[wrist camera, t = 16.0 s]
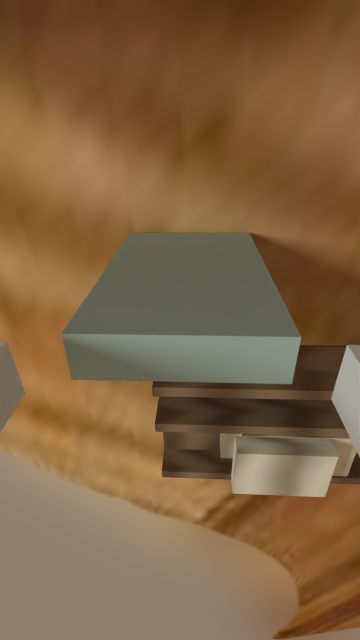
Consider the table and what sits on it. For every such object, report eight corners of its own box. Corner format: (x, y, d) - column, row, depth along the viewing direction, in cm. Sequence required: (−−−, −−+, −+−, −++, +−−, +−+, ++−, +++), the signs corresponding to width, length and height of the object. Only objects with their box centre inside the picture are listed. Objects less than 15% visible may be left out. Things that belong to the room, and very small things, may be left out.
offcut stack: (219, 443, 38) (222, 493, 33) (222, 404, 35) (226, 452, 30) (334, 447, 37) (355, 498, 32) (346, 407, 34) (373, 457, 29)
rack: (165, 443, 41) (160, 494, 35) (160, 344, 33) (152, 387, 28) (381, 450, 39) (411, 504, 34) (425, 348, 32) (474, 394, 26)
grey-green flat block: (132, 261, 29) (72, 379, 15) (130, 233, 28) (61, 333, 14) (246, 261, 28) (292, 384, 15) (249, 232, 27) (301, 336, 13)
